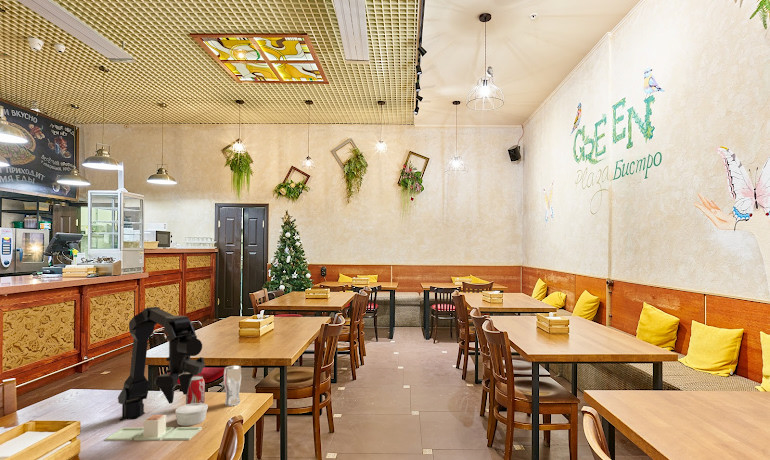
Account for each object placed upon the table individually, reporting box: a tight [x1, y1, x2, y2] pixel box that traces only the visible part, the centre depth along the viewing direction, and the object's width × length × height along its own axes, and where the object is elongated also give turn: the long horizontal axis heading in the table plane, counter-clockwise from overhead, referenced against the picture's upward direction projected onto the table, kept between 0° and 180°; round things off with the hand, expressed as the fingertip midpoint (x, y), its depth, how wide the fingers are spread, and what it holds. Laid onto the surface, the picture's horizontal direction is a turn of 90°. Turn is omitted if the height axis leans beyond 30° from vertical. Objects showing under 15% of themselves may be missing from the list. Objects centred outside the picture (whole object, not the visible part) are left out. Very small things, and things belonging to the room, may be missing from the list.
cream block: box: [143, 414, 167, 438], centre depth 145 cm, size 5×5×6 cm
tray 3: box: [162, 426, 203, 441], centre depth 144 cm, size 9×9×1 cm
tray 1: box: [104, 426, 144, 442], centre depth 145 cm, size 9×9×1 cm
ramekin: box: [174, 402, 209, 427], centre depth 157 cm, size 11×11×5 cm
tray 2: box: [133, 426, 175, 441], centre depth 145 cm, size 9×9×1 cm
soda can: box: [185, 375, 206, 405], centre depth 172 cm, size 7×7×12 cm
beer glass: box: [223, 364, 242, 407], centre depth 176 cm, size 7×7×15 cm
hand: (178, 398), depth 145 cm, fingers open, 9 cm apart
